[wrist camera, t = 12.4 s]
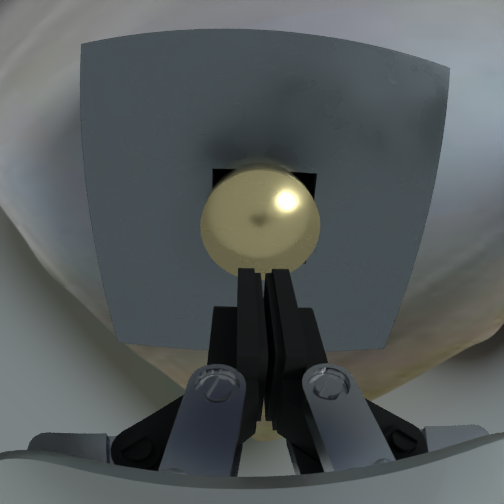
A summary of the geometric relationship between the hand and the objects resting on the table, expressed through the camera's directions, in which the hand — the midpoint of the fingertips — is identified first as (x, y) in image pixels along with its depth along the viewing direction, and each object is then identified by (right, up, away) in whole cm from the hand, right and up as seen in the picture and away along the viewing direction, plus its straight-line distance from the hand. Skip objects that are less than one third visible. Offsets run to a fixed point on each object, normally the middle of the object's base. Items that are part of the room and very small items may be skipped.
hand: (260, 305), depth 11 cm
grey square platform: (0, +7, +14) cm, 16 cm away
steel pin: (0, +7, +14) cm, 15 cm away
